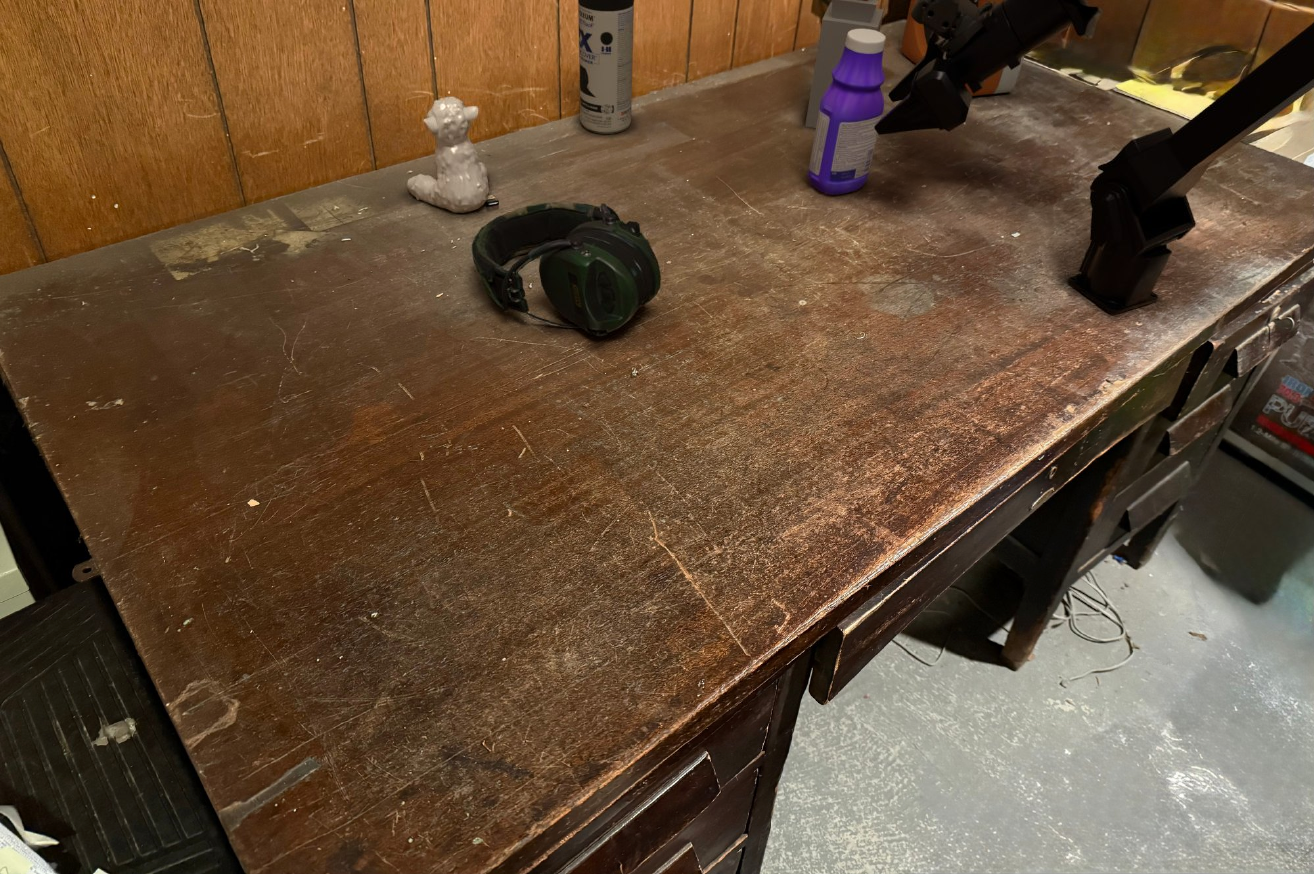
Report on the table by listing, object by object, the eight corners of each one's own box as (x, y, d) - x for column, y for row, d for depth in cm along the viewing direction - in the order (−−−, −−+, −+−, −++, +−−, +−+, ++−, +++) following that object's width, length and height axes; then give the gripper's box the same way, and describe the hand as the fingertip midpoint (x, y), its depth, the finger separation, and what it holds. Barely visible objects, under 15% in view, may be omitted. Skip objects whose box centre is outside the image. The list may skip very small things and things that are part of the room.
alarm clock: (897, 52, 137) (930, -99, 123) (946, 48, 139) (985, -101, 125) (960, 101, 125) (1005, -60, 110) (1014, 96, 127) (1065, -64, 113)
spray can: (572, 117, 117) (567, -51, 103) (620, 109, 119) (621, -56, 105) (591, 138, 112) (589, -33, 98) (640, 130, 114) (644, -39, 101)
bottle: (845, 168, 109) (874, 21, 97) (875, 189, 106) (909, 38, 93) (797, 181, 106) (821, 30, 94) (826, 202, 103) (856, 49, 91)
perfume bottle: (805, 126, 117) (828, -20, 105) (813, 106, 122) (837, -37, 109) (856, 134, 116) (885, -13, 103) (862, 114, 121) (892, -30, 108)
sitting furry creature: (483, 173, 105) (472, 71, 96) (516, 206, 100) (507, 101, 91) (407, 192, 101) (388, 88, 92) (436, 227, 96) (420, 120, 87)
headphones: (703, 231, 86) (541, 201, 95) (642, 178, 74) (463, 150, 83) (663, 363, 86) (504, 320, 95) (595, 331, 74) (421, 286, 83)
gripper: (983, -69, 92) (858, 25, 102) (965, -17, 79) (823, 85, 89) (1037, 22, 96) (910, 104, 106) (1027, 86, 83) (885, 172, 93)
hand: (883, 114), depth 98 cm, fingers open, 9 cm apart
